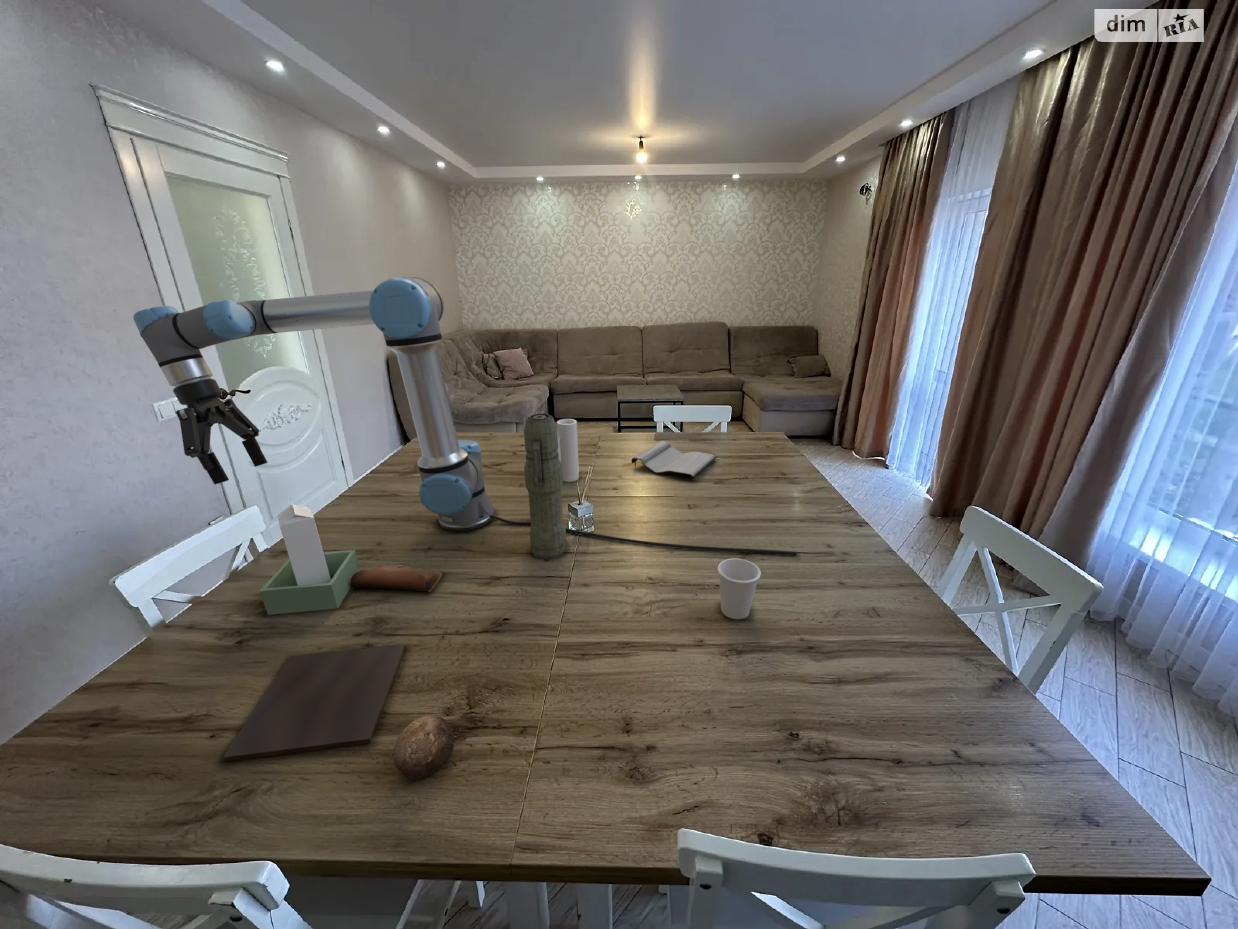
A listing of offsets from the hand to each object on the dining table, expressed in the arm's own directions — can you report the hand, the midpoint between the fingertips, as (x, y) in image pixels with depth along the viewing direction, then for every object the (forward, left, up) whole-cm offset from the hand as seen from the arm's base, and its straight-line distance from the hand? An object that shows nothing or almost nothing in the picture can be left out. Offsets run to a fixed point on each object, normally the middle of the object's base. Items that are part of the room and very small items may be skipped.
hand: (242, 473), depth 109 cm
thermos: (-67, +5, -24) cm, 72 cm away
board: (-30, +46, -24) cm, 60 cm away
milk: (-16, +15, -24) cm, 32 cm away
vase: (-72, -40, -24) cm, 86 cm away
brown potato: (-49, +60, -24) cm, 81 cm away
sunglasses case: (-33, +14, -24) cm, 43 cm away
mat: (-113, -46, -24) cm, 125 cm away
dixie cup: (-105, +35, -24) cm, 114 cm away
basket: (-16, +15, -24) cm, 32 cm away
